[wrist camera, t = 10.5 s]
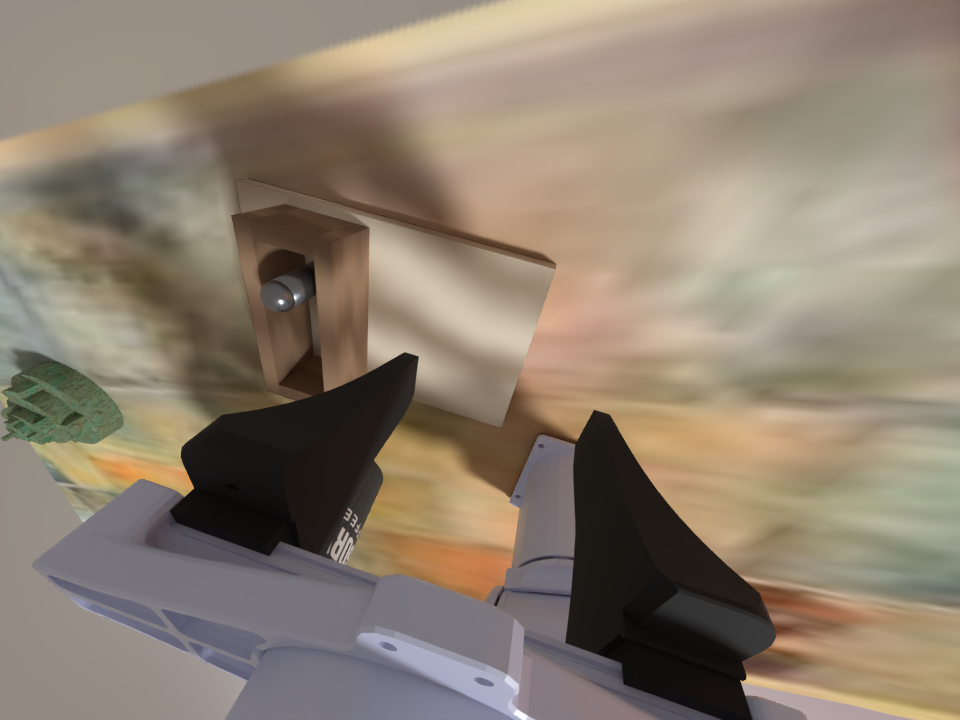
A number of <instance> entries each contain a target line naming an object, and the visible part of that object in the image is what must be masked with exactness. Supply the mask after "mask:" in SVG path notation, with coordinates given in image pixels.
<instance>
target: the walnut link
mask: <svg viewBox="0 0 960 720" xmlns="http://www.w3.org/2000/svg"><path fill="white" fill-rule="evenodd" d="M231 216H232V221H233V226H234V231H235V236H236V240H237V245H238V250H239V255H240V260H241V265H242V270H243V275H244V280H245V285H246V290H247V295H248V299H249V304H250V309H251V314H252V319H253V324H254V329H255V334H256V339H257V344H258V349H259V354H260V359H261V363H262V368H263V373H264V378H265V383H266V388H267V391H268V392H271V393H274V394H277V395H280V396H283V397H286V398H289V399H292V400H296V401H298V400H301V399H304V398H308V397H311V396H314V395H318V394H321V393H323V392H326V391H329V390H331V389H334V388H337V387H339V386H341V385H344V384H346V383H348V382H350V381H352V380H354V379H356V378H359V377H361V376H363V375H365V374H366V373H367V355H368V296H369V236H370V227H366V226H363V225H359V224H355V223H352V222H348V221H345V220H341V219H338V218H334V217H330V216H327V215H323V214H320V213H316V212H312V211H309V210H305V209H302V208H298V207H294V206H291V205H287V204H283V205H278V206H273V207H269V208H264V209H259V210H254V211H249V212H245V213H240V214H235V215H231ZM305 255H306V256H310V257H313V258H314V266H315V279H316V292H317V305H318V318H319V331H320V343H321V356H322V357H318V356H315V355H314V349H313V338H312V328H311V317H310V306H309V300H307V301H305V302H304V303H302V304H300V305H299V306H297V307H295V308H294V309H292V310H290V311H288V312H284V313H277V312H274V311H271V310H269V309H268V308H267V307H265V306H264V304H263V303H262V301H261V298H260V291H261V288H262V286H263V285H264V284H265V283H266V282H268V281H270V280H272V279H274V278H277V277H279V276H281V275H283V274H285V273H288V272H290V271H292V270H294V269H296V268H299V267H301V266H303V265H305V264H306V263H305Z"/></svg>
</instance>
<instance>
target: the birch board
mask: <svg viewBox="0 0 960 720" xmlns="http://www.w3.org/2000/svg"><path fill="white" fill-rule="evenodd" d="M235 182H236V188H237V193H238V198H239V204H240V209H241V213H245V212H249V211H254V210H259V209H264V208H269V207H273V206H278V205H283V204H287V205H291V206H294V207H298V208H302V209H305V210H309V211H312V212H316V213H320V214H323V215H327V216H330V217H334V218H338V219H341V220H345V221H348V222H352V223H355V224H359V225H363V226H366V227H370V236H369V296H368V355H367V373H368V372H370V371H372V370H374V369H376V368H378V367H379V366H381V365H383V364H385V363H386V362H388V361H390V360H392V359H393V358H395V357H397V356H398V355H400V354H402V353H404V352H406V353H409V354H413V355H416V356H419V360H418V368H417V376H416V384H415V392H414V396H413V398H412V400H414V401H417V402H420V403H423V404H426V405H430V406H433V407H436V408H439V409H442V410H445V411H449V412H452V413H455V414H458V415H461V416H464V417H468V418H471V419H474V420H477V421H480V422H483V423H487V424H490V425H493V426H496V427H499V428H501V427H502V424H503V421H504V418H505V415H506V413H507V410H508V407H509V404H510V401H511V398H512V395H513V392H514V389H515V386H516V383H517V380H518V378H519V375H520V372H521V369H522V366H523V363H524V360H525V357H526V354H527V351H528V348H529V345H530V342H531V340H532V337H533V334H534V331H535V328H536V325H537V322H538V319H539V316H540V313H541V310H542V307H543V305H544V302H545V299H546V296H547V293H548V290H549V287H550V284H551V281H552V278H553V275H554V272H555V270H556V264H553V263H550V262H546V261H543V260H539V259H535V258H532V257H528V256H524V255H521V254H517V253H514V252H510V251H506V250H503V249H499V248H496V247H492V246H488V245H485V244H481V243H478V242H474V241H470V240H467V239H463V238H459V237H456V236H452V235H449V234H445V233H441V232H438V231H434V230H431V229H427V228H423V227H420V226H416V225H412V224H409V223H405V222H402V221H398V220H394V219H391V218H387V217H384V216H380V215H376V214H373V213H369V212H366V211H362V210H358V209H355V208H351V207H347V206H344V205H340V204H337V203H333V202H329V201H326V200H322V199H319V198H315V197H311V196H308V195H304V194H301V193H297V192H293V191H290V190H286V189H282V188H279V187H275V186H272V185H268V184H264V183H261V182H257V181H254V180H250V179H243V180H235ZM312 261H314V258H313V257H310V256H306V255H305V263H306V264H307V263H310V262H312ZM309 306H310V317H311V328H312V338H313V349H314V355H315V356H318V357H322V356H321V343H320V331H319V318H318V305H317V295H316V296H314V297H312V298H310V299H309Z"/></svg>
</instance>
